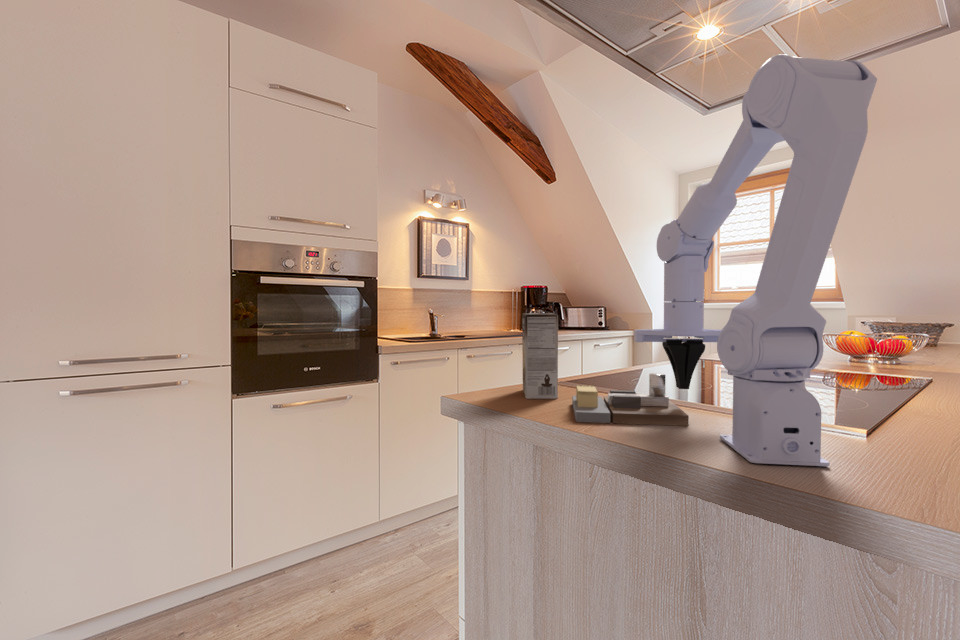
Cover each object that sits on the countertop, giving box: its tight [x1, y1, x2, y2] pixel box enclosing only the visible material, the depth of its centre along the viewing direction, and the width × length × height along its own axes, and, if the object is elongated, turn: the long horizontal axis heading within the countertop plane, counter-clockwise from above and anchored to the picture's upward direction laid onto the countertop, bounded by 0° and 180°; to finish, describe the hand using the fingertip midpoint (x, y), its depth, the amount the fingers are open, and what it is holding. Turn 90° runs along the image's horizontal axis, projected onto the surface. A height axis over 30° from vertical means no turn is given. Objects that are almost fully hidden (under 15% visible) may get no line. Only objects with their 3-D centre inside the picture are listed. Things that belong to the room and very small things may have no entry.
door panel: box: [603, 389, 690, 427], centre depth 71 cm, size 12×11×3 cm
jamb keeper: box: [571, 384, 611, 424], centre depth 72 cm, size 12×5×4 cm, turn 171°
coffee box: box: [521, 312, 559, 400], centre depth 87 cm, size 9×6×16 cm
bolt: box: [607, 372, 670, 407], centre depth 71 cm, size 2×9×5 cm, turn 81°
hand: (682, 387), depth 70 cm, fingers closed
